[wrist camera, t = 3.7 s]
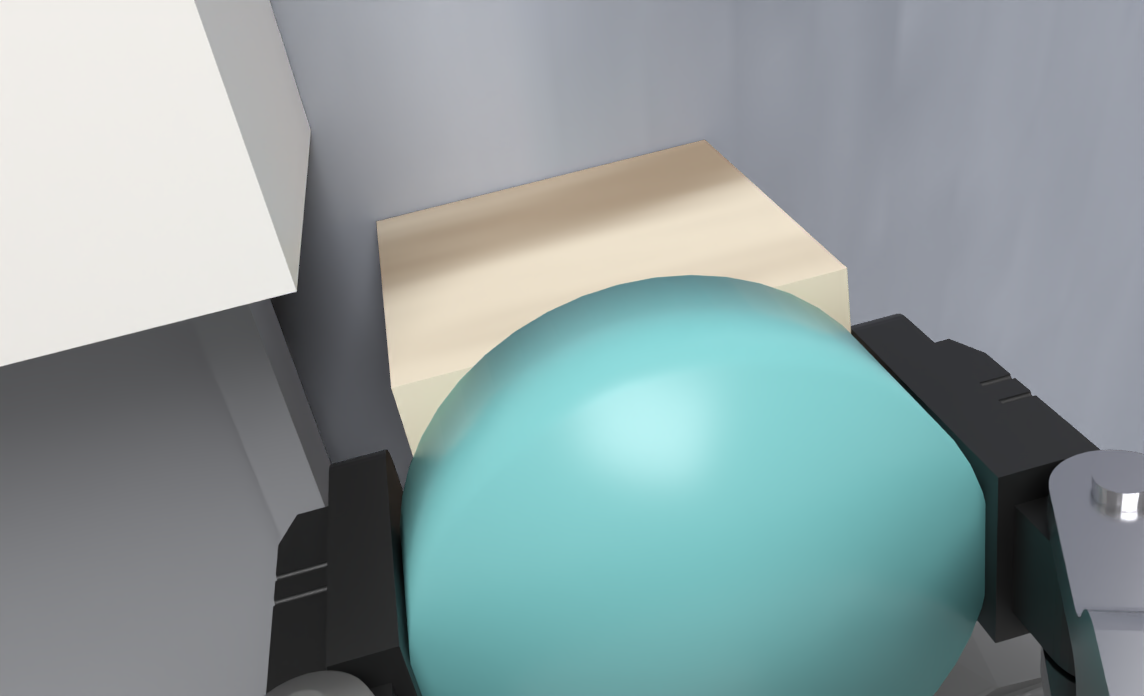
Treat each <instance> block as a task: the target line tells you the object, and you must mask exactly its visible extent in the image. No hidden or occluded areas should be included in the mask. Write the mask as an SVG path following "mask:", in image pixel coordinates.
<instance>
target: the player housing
mask: <svg viewBox="0 0 1144 696" xmlns="http://www.w3.org/2000/svg"><path fill="white" fill-rule="evenodd" d="M310 136H311V129H310V126H309V123H308V120H307V117H306V113H305V110H304V107H303V104H302V101H301V98H300V95H299V91H298V88H297V85H296V82H295V79H294V76H293V73H292V69H291V66H290V63H289V60H288V57H287V54H286V51H285V47H284V44H283V41H282V38H281V35H280V32H279V29H278V25H277V22H276V19H275V16H274V13H273V10H272V7H271V3H270V0H0V366H4V365H8V364H12V363H16V362H20V361H24V360H28V359H32V358H36V357H40V356H44V355H48V354H52V353H56V352H60V351H63V350H67V349H71V348H75V347H79V346H83V345H87V344H91V343H95V342H99V341H103V340H107V339H111V338H115V337H119V336H123V335H127V334H131V333H135V332H139V331H143V330H147V329H150V328H154V327H158V326H162V325H166V324H170V323H174V322H178V321H182V320H186V319H190V318H194V317H198V316H202V315H206V314H210V313H214V312H218V311H222V310H226V309H230V308H233V307H237V306H241V305H245V304H249V303H253V302H257V301H261V300H265V299H269V298H273V297H277V296H281V295H285V294H289V293H293V292H297V283H298V271H299V260H300V249H301V238H302V226H303V215H304V204H305V193H306V181H307V170H308V159H309V148H310Z"/></svg>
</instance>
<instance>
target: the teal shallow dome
mask: <svg viewBox="0 0 1144 696" xmlns="http://www.w3.org/2000/svg"><path fill="white" fill-rule="evenodd" d="M985 508H986V504H985V499H984V495H983V492H982V489H981V487H980V485H979V483H978V480H977V478H976V476H975V474H974V471H973V469H972V467H971V465H970V463H969V462H968V460H967V459H966V457H965V456H964V454H963V453H962V452H961V450H960V449H959V447H958V446H957V444H956V443H955V441H954V440H953V439H952V438H951V437H950V436H949V435H948V434H947V433H946V432H945V431H944V430H943V429H942V428H941V426H940V425H939V424H938V423H937V422H936V421H935V420H934V419H933V418H932V417H931V416H930V415H929V414H928V413H927V412H926V411H925V410H924V409H923V408H922V407H921V406H920V405H919V404H918V403H917V402H916V401H915V400H914V399H913V398H912V396H911V395H910V394H909V393H908V392H907V391H906V390H905V389H904V388H903V387H902V386H901V385H900V384H899V383H898V382H897V381H896V380H895V379H894V378H893V377H892V376H891V375H890V374H889V373H888V372H887V371H886V370H885V369H884V367H883V366H882V365H881V364H880V363H879V362H878V361H877V360H876V359H875V358H874V357H873V356H872V355H871V354H870V353H869V352H868V351H867V350H866V349H865V348H864V347H863V346H862V345H861V344H860V343H859V342H858V341H857V340H856V339H855V338H854V337H853V336H852V335H851V334H850V333H849V331H848V330H847V329H846V328H845V327H844V326H843V325H841V324H840V323H838V322H837V321H836V320H834V319H833V318H832V317H830V316H829V315H828V314H826V313H825V312H823V311H822V310H821V309H819V308H818V307H816V306H814V305H812V304H810V303H808V302H806V301H804V300H802V299H800V298H798V297H796V296H794V295H792V294H790V293H787V292H784V291H781V290H778V289H776V288H773V287H770V286H767V285H764V284H761V283H756V282H751V281H746V280H741V279H735V278H730V277H720V276H702V275H683V276H668V277H655V278H649V279H644V280H639V281H634V282H629V283H624V284H619V285H615V286H612V287H609V288H606V289H603V290H600V291H597V292H593V293H590V294H587V295H584V296H581V297H579V298H577V299H575V300H572V301H570V302H568V303H566V304H564V305H561V306H559V307H557V308H555V309H553V310H551V311H548V312H546V313H545V314H543V315H541V316H540V317H538V318H536V319H535V320H533V321H532V322H530V323H528V324H527V325H525V326H523V327H522V328H520V329H518V330H517V331H515V332H514V333H512V334H511V335H510V336H509V337H507V338H506V339H505V340H503V341H502V342H501V343H500V344H498V345H497V346H496V347H494V348H493V349H492V350H491V351H489V352H488V353H487V354H485V355H484V356H483V357H482V358H481V359H480V360H479V361H478V362H477V363H476V364H475V365H474V366H473V367H472V368H471V369H470V370H469V371H468V372H467V373H466V374H465V375H464V376H463V377H462V378H461V379H460V381H459V382H458V383H457V384H456V386H455V387H454V388H453V390H452V391H451V392H450V393H449V395H448V396H447V397H446V399H445V400H444V401H443V402H442V404H441V405H440V406H439V408H438V409H437V411H436V413H435V414H434V416H433V418H432V420H431V421H430V423H429V425H428V427H427V428H426V430H425V432H424V433H423V435H422V437H421V439H420V442H419V444H418V447H417V449H416V452H415V454H414V457H413V459H412V461H411V464H410V466H409V470H408V474H407V478H406V482H405V487H404V491H403V495H402V503H401V516H400V537H401V550H402V563H403V576H404V589H405V602H406V614H407V627H408V640H409V653H410V664H411V667H412V669H413V672H414V675H415V678H416V680H417V683H418V686H419V689H420V691H421V694H422V696H933V695H934V694H935V693H936V691H937V690H938V689H939V687H940V686H941V684H942V683H943V682H944V680H945V679H946V677H947V676H948V674H949V673H950V671H951V670H952V669H953V667H954V666H955V664H956V662H957V661H958V659H959V657H960V655H961V653H962V651H963V649H964V648H965V646H966V644H967V642H968V640H969V638H970V636H971V634H972V631H973V629H974V626H975V624H976V621H977V619H978V616H979V613H980V611H981V608H982V604H983V600H984V596H985Z"/></svg>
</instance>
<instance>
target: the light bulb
mask: <svg viewBox="0 0 1144 696" xmlns="http://www.w3.org/2000/svg"><path fill="white" fill-rule="evenodd" d="M1040 657H1041V645H1040V644H1039V643H1038V641H1037V640H1036V639H1035V638H1034V637H1033V636H1032V634H1031V633H1029V634H1025V635H1022V636H1019V637H1015V638H1012V639H1009V640H1005V641H1002V642H999V643H995V642H994V641H993V640H992V639H991V637H990V636H989V635H988V633H987V632H986V631H985V630H984V628H983V627H982V626H981V625H980V623H979V622H978V621H976V624H975V626H974V629H973V631H972V634H971V636H970V638H969V640H968V642H967V644H966V646H965V648H964V649H963V651H962V653H961V655H960V657H959V659H958V661H957V662H956V664H955V666H954V667H953V669H952V670H951V671H950V673H949V674H948V676H947V677H946V679H945V680H944V682H943V683H942V684H941V686H940V687H939V689H938V690H937V691H936V693H935V694H934V695H933V696H1044V693H1043V687H1042V681H1041V675H1040Z"/></svg>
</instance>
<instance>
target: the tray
mask: <svg viewBox="0 0 1144 696" xmlns="http://www.w3.org/2000/svg"><path fill="white" fill-rule="evenodd" d="M330 465H331V463H330V461H329V458H328V455H327V452H326V450H325V447H324V444H323V442H322V439H321V436H320V433H319V431H318V428H317V425H316V422H315V420H314V417H313V414H312V412H311V409H310V406H309V403H308V401H307V398H306V395H305V393H304V390H303V387H302V384H301V382H300V379H299V376H298V374H297V371H296V368H295V365H294V363H293V360H292V357H291V355H290V352H289V349H288V346H287V344H286V341H285V338H284V336H283V333H282V330H281V327H280V325H279V322H278V319H277V317H276V314H275V311H274V308H273V306H272V303H271V300H270V298H269V299H265V300H261V301H257V302H253V303H249V304H245V305H241V306H237V307H233V308H230V309H226V310H222V311H218V312H214V313H210V314H206V315H202V316H198V317H194V318H190V319H186V320H182V321H178V322H174V323H170V324H166V325H162V326H158V327H154V328H150V329H147V330H143V331H139V332H135V333H131V334H127V335H123V336H119V337H115V338H111V339H107V340H103V341H99V342H95V343H91V344H87V345H83V346H79V347H75V348H71V349H67V350H63V351H60V352H56V353H52V354H48V355H44V356H40V357H36V358H32V359H28V360H24V361H20V362H16V363H12V364H8V365H4V366H0V696H264V695H266V687H267V675H268V663H269V650H270V638H271V626H272V614H273V606H275V602H274V590H275V581H277V578H276V566H277V553H278V545H279V543H280V541H281V540H282V538H283V537H284V535H285V533H286V532H287V530H288V528H289V527H290V525H291V524H292V522H293V520H294V519H295V517H296V515H297V514H301V513H305V512H308V511H312V510H316V509H319V508H323V507H327V506H328V492H329V466H330Z"/></svg>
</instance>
